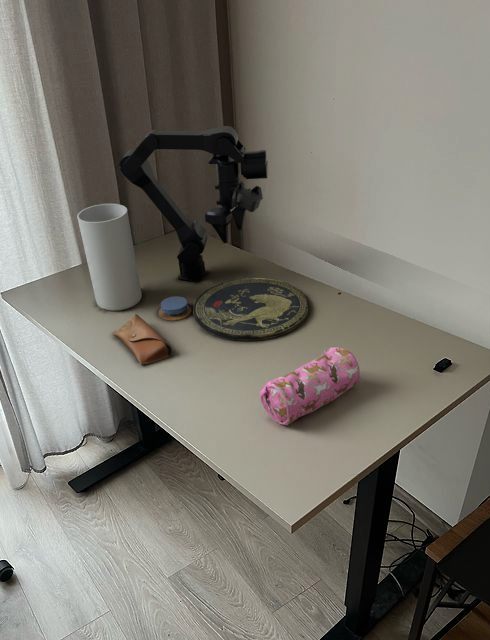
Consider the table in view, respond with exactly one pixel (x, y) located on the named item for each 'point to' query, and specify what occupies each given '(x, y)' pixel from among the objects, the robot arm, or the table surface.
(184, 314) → the coaster
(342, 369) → the pencil case
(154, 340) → the sunglasses case
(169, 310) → the flat blue disc
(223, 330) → the decorative plate
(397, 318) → the table surface
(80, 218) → the cylinder vase
